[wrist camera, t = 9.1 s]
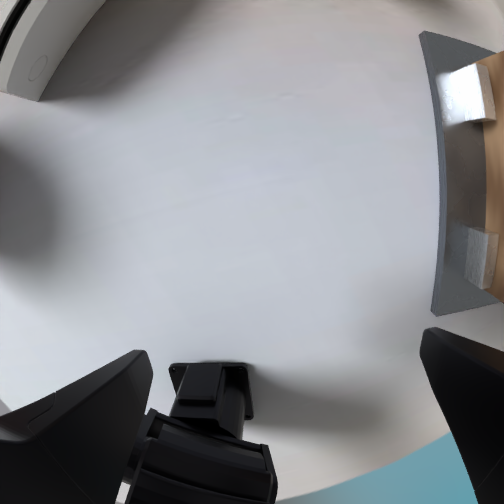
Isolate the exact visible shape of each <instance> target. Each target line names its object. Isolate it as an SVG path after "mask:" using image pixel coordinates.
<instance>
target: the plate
mask: <svg viewBox="0 0 504 504" xmlns="http://www.w3.org/2000/svg"><path fill="white" fill-rule="evenodd" d="M419 38H420V42H421V46H422V50H423V54H424V58H425V63H426V68H427V73H428V78H429V83H430V89H431V95H432V101H433V108H434V116H435V124H436V133H437V144H438V159H439V182H440V216H439V240H438V254H437V266H436V275H435V284H434V292H433V299H432V306H431V312H432V313H433V314H434V315H435V316H441V315H446V314H451V313H455V312H460V311H464V310H469V309H473V308H478V307H482V306H486V305H490V304H494V303H498V302H501V301H500V300H498V299H497V298H496V297H494V296H493V295H491V294H490V293H488V292H487V291H485V290H484V289H486V288H491V287H492V283H493V277H494V271H495V264H496V257H497V248H498V239H499V234H497V233H494V232H492V231H489V230H486V229H485V224H486V197H487V182H486V155H485V141H484V131H483V122H485V121H493V120H497V119H496V112H495V105H494V99H493V94H492V88H491V83H490V78H489V74H488V70H487V67H486V66H483V65H480V64H477V63H475V64H472V63H474V62H476V61H479V60H481V59H484V58H486V57H489V56H491V55H494V54H497V53H495V52H492V51H490V50H487V49H484V48H481V47H479V46H476V45H473V44H470V43H467V42H464V41H461V40H457V39H454V38H451V37H447V36H444V35H440V34H436V33H432V32H428V31H423V32H422V33H421V34H419Z"/></svg>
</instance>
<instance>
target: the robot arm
mask: <svg viewBox="0 0 504 504" xmlns="http://www.w3.org/2000/svg"><path fill="white" fill-rule="evenodd" d="M420 358H421V360H422V363H423V366H424V368H425V371H426V374H427V376H428V379H429V382H430V385H431V388H432V390H433V393H434V395H435V397H436V399H437V401H438V403H439V406H440V408H441V410H442V412H443V414H444V416H445V419H446V421H447V423H448V425H449V428H450V430H451V432H452V434H453V437H454V439H455V442H456V444H457V446H458V449H459V452H460V454H461V457H462V459H463V462H464V464H465V467H466V469H467V472H468V475H469V477H470V480H471V483H472V486H473V489H474V490H475V491H474V492H475V495H476V498H477V501H478V504H504V352H503V351H500V350H497V349H495V348H492V347H489V346H486V345H484V344H481V343H478V342H475V341H473V340H470V339H467V338H465V337H462V336H459V335H456V334H454V333H451V332H448V331H445V330H443V329H440V328H437V327H432V328H427V329H425V330H424V332H423V337H422V341H421V346H420ZM173 368H174V369H176V370H174V369H173ZM240 368H242V369H244V370H239V369H240ZM169 373H170V377H171V380H172V383H173V386H174V390H175V393H176V398H175V401H174V403H173V406H172V409H171V411H170V414H169V416H166V415H164V414H161V413H159V412H157V410H155V409H152V408H150V410H149V412H148V413H147V415H145V414H144V413H145V409H146V405H147V401H148V396H149V392H150V387H151V383H152V379H153V370H152V366H151V363H150V360H149V357H148V354H147V352H146V351H145V350H132V351H131V352H129V353H127V354H125V355H123V356H121V357H120V358H118V359H116V360H114V361H112V362H110V363H109V364H107V365H105V366H103V367H101V368H99V369H97V370H96V371H94V372H92V373H90V374H88V375H86V376H84V377H82V378H81V379H79V380H77V381H75V382H73V383H71V384H69V385H67V386H65V387H63V388H62V389H60V390H58V391H56V393H55V392H54V393H52V394H50V395H48V396H46V397H44V398H42V399H40V400H38V401H36V402H34V403H31V404H29V405H27V406H24V407H22V408H20V409H17V410H15V411H12V412H10V413H7V414H5V415H2V416H0V504H115V501H116V498H117V495H118V492H119V488H120V485H121V482H124V483H126V484H129V485H131V486H130V489H129V492H128V495H127V498H126V501H125V504H274V503H275V500H276V496H277V490H278V481H277V476H276V473H275V469H274V465H273V462H272V458H271V454H270V451H269V447H268V445H265V444H255V443H251V442H247V441H244V440H242V437H243V426H244V420H251V419H253V417H254V412H253V404H252V397H251V390H250V382H249V374H248V367H247V365H246V364H244V363H221V364H219V363H190V364H180V363H173V364H171V365H170V367H169Z"/></svg>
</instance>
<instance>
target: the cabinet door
mask: <svg viewBox="0 0 504 504" xmlns="http://www.w3.org/2000/svg"><path fill="white" fill-rule="evenodd" d="M475 63H477V64H480V65H483V66H486V67H487V70H488V74H489V78H490V83H491V88H492V94H493V99H494V105H495V112H496V119H497V120H493V121H485V122H483V131H484V141H485V155H486V182H487V197H486V224H485V229H486V230H489V231H492V232H494V233H497V234H499V239H498V248H497V257H496V264H495V271H494V277H493V283H492V287H491V288H486V289H484V290H485V291H487V292H488V293H490V294H491V295H493V296H494V297H496V298H497V299H498V300H500V301H501V302H503V303H504V51H502V52H499V53H497V54H494V55H491V56H489V57H486V58H484V59H481V60H479V61H476V62H474V63H472V64H475Z"/></svg>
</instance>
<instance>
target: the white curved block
mask: <svg viewBox="0 0 504 504" xmlns="http://www.w3.org/2000/svg"><path fill="white" fill-rule="evenodd" d="M105 1H106V0H7V1H6V3H5V5H4V7H3V8H2V10H1V12H0V92H3V93H7V94H11V95H14V96H18V97H21V98H24V99H28V100H32V101H36V102H38V101H39V99H40V97H41V95H42V93H43V91H44V89H45V87H46V86H47V84H48V82H49V80H50V79H51V77H52V75H53V74H54V72H55V70H56V69H57V67H58V65H59V64H60V62H61V60H62V59H63V57H64V56H65V54H66V53H67V51H68V50H69V48H70V47H71V45H72V44H73V42H74V41H75V40H76V38H77V37H78V35H79V34H80V33H81V31H82V30H83V29H84V27H85V26H86V25H87V23H88V22H89V21H90V19H91V18H92V17H93V16H94V14H95V13H96V12H97V11H98V9H99V8H100V7H101V6H102V5H103V3H104V2H105Z"/></svg>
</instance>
